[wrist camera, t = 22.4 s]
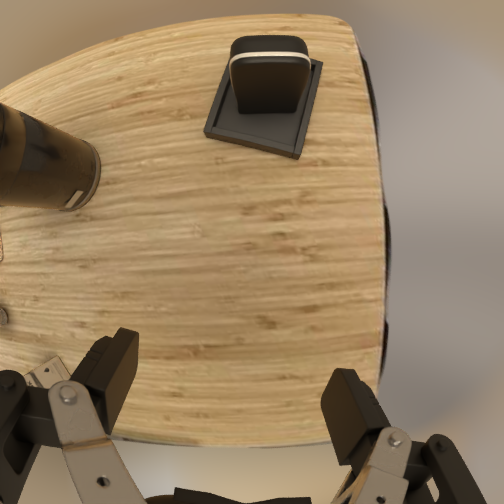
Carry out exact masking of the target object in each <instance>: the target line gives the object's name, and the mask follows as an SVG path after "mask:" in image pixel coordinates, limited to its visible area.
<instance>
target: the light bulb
mask: <svg viewBox="0 0 504 504" xmlns="http://www.w3.org/2000/svg"><path fill="white" fill-rule="evenodd" d="M6 323H7V315H6V313H5V311H4V310H3V309H0V326H1V325H3V324H6Z"/></svg>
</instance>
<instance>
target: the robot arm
mask: <svg viewBox="0 0 504 504" xmlns="http://www.w3.org/2000/svg"><path fill="white" fill-rule="evenodd" d="M99 177H100V160H99V156H98V153H97V151H96V150H95V148H94V147H93V146H92V145H91V144H89V143H88V142H86V141H84V140H81V139H77V138H75V137H73V136H72V135H70V134H67V133H65V132H63V131H61V130H59V129H57V128H55V127H53V126H51V125H49V124H46V123H44V122H42V121H40V120H38V119H36V118H34V117H31V116H29V115H27V114H25V113H23V112H21V111H18V110H16V109H14V108H11V107H9V106H7V105H5V104H3V103H0V206H17V207H31V208H44V209H55V210H60V211H74V210H76V209H79V208H80V207H82V206H83V205H84V204H86V203H87V202H88V200H89V199H90V198H91V197H92V195H93V193H94V192H95V190H96V187H97V185H98V181H99ZM138 347H139V333H138V332H136V331H132V330H128V329H125V328H119V330H118V331H117V333H116V334H115V335H114V337H113V338H111V337H108V336H104V337H102V338H101V339H99V340H97V341H96V342H95V343H94V344H93V346H92V347H91V349H90V351H88V353H87V354H86V356H85V357H84V358H83V360H82V361H81V363H80V364H79V365H78V367H77V368H76V370H75V371H74V373H73V374H72V375H71V377H70V378H69V380H63V381H59V382H57V383H55V384H53V385H52V386H51V387H50V388H49V389H48V388H40V387H34V386H28V385H27V383H26V380H25V378H24V377H23V376H22V375H21V374H20V373H18V372H16V371H13V370H3V371H0V504H17V503H18V500H19V498H20V495H21V492H22V490H23V487H24V484H25V482H26V479H27V477H28V475H29V472H30V470H31V468H32V465H33V463H34V461H35V459H36V456H37V454H38V452H39V449H40V447H41V445H45V446H50V447H57V448H61V449H62V452H63V455H64V458H65V461H66V464H67V467H68V469H69V472H70V475H71V477H72V480H73V482H74V485H75V487H76V489H77V492H78V494H79V497H80V499H81V501H82V503H83V504H312V502H311V498H310V497H296V498H275V499H270V500H266V501H259V502H253V503H241V502H238V501H234V500H231V499H227V498H224V497H221V496H218V495H215V494H212V493H207V492H200V491H193V490H188V489H182V488H177V487H175V490H174V495H159V496H154V497H149V498H146V499H144V498H143V496H142V495H141V493H140V491H139V489H138V488H137V486H136V485H135V483H134V481H133V479H132V478H131V476H130V474H129V472H128V470H127V469H126V467H125V465H124V463H123V461H122V459H121V457H120V455H119V453H118V451H117V449H116V447H115V445H114V444H113V442H112V440H111V439H108V438H107V436H106V434H108V435H111V432H112V430H113V427H114V425H115V422H116V420H117V417H118V415H119V413H120V410H121V408H122V405H123V403H124V401H125V398H126V396H127V394H128V391H129V389H130V387H131V384H132V382H133V380H134V378H135V375H136V371H137V365H138ZM321 409H322V412H323V415H324V418H325V422H326V425H327V428H328V431H329V434H330V437H331V440H332V443H333V446H334V449H335V453H336V455H337V459H338V462H339V465H340V466H342V465H351V467H352V469H351V470H350V471H349V473H348V474H347V476H346V478H345V480H344V482H343V483H342V485H341V487H340V489H339V490H338V492H337V494H336V496H335V497H334V499H333V501H332V502H331V504H487V503H486V501H485V499H484V497H483V495H482V493H481V491H480V489H479V488H478V486H477V484H476V482H475V480H474V479H473V477H472V475H471V473H470V471H469V470H468V468H467V466H466V464H465V462H464V461H463V459H462V457H461V455H460V454H459V452H458V450H457V449H456V447H455V445H454V443H453V442H452V441H451V440H450V439H449V438H448V437H446V436H444V435H440V434H434V435H432V436H431V437H430V438H429V439H428V440H427V442H426V443H424V442H416V441H411V439H410V437H409V435H408V434H407V433H406V432H405V431H403V430H402V429H400V428H397V427H392V426H391V425H390V423H389V421H388V419H387V417H386V415H385V413H384V412H383V410H382V408H381V406H380V405H379V402H378V401H377V399H376V398H375V395H374V393H373V392H372V390H371V388H370V387H369V386H368V385H366V384H365V383H364V382H363V381H360V379H359V377H358V375H357V373H356V371H355V370H354V369H344V368H336V369H335V370H334V372H333V374H332V376H331V378H330V380H329V382H328V384H327V386H326V388H325V390H324V392H323V394H322V397H321ZM432 477H433V479H434V481H435V483H436V486H437V488H438V490H439V498H438V500H437V502H434V500H433V497H432V495H431V493H430V490H429V488H428V486H427V482H428V481H429V480H430V479H431V478H432Z"/></svg>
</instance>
